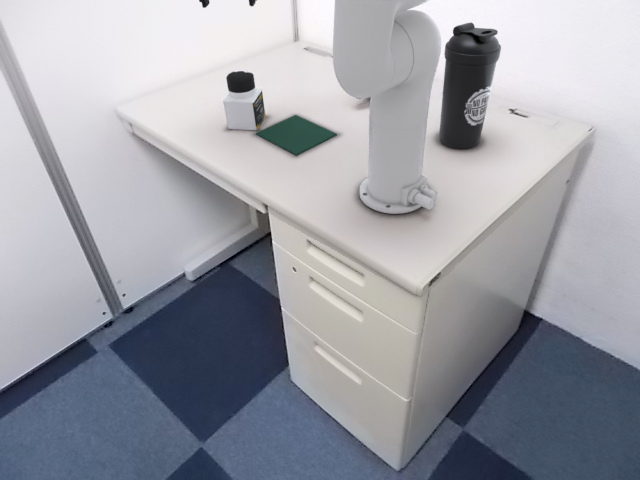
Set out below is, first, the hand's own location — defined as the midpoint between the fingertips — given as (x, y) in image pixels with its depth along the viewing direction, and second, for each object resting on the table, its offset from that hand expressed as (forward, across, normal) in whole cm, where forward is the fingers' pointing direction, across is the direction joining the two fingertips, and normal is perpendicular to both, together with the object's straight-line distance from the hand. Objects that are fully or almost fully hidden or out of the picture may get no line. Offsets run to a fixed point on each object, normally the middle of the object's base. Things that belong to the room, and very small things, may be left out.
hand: (229, 5), depth 100 cm
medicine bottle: (+26, 0, -1) cm, 26 cm away
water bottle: (+26, +48, -10) cm, 55 cm away
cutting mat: (+26, +12, -7) cm, 29 cm away
